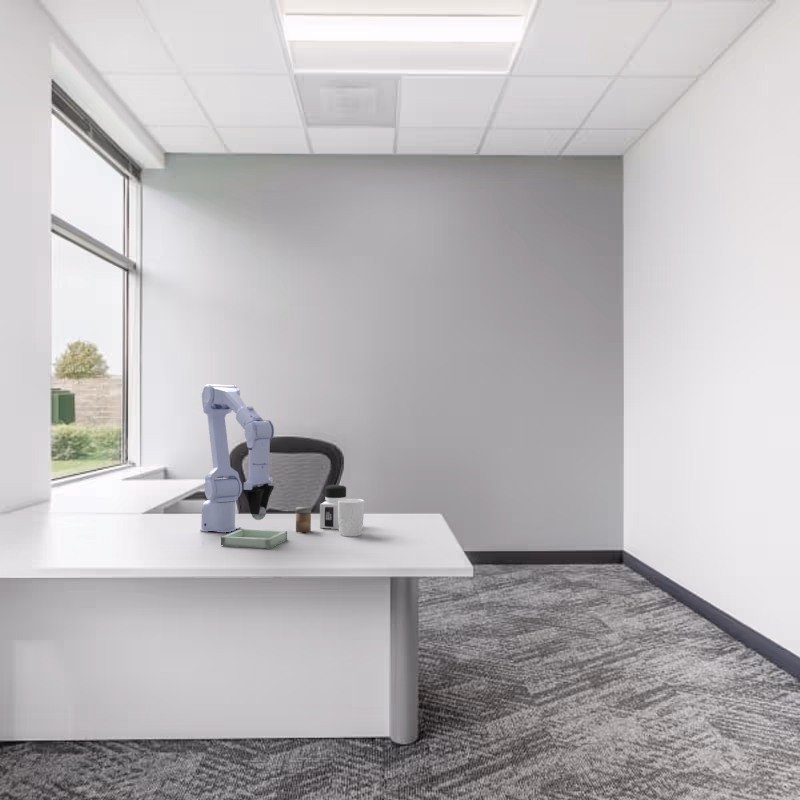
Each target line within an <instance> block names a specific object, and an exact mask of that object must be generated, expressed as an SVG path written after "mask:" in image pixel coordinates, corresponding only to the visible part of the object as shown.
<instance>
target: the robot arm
mask: <svg viewBox="0 0 800 800" xmlns="http://www.w3.org/2000/svg"><path fill="white" fill-rule="evenodd" d="M238 387H239V386H237V385H236V384H231V385H230V384H229V385H228V384H210V383H207V384H206V385H204V387H203V389H202V393H201V402H202V411H203V413H204V414H205V415H207V416H206V417H207V423H208V431H209V433H208V435H209V442H210V453H211V461H212V469H211V470H210V471H209V472H208V473H207V474H206V475H205V478H204V495H205V497H206V499H207V500H205V501H204V502H203V504H202V506H201V528H200V530H199V531H200V532H208V531H217V532H216V533H226V532H229V533H232V532H235V531H237V530H240V529H242V527H241V525H239V526H238V525H236V501H238V500H239V499H238V498H239V497H240V496H241V494H242V492H243V494H244V495H245V497H246V500H247V503H248V507H249V511H250V515H252V514H259V511H260V506H263V507H264V508H265V510H266V511H267V509H268V508H267V507H268V503H269V500H270V497H271V494H272V492H273V490H274V487H275V486H274V485H273V483H274V480H273V476H270V457H271V456H270V454H271V453H270V451H271V450H270V449H271V448H270V446H271V445H270V444H271V441H272V439H273V438H274V434H275V427H274V424H273V423H272V421H271V420H270V419H267V420H266V419H263V418H262V417H261V415H260V414H259V413H258V412H257V411H256V410H255V409H254V406H251V405H250V406H249V405H247V404H245V402H244V400H243V399H242V398H241V391H240V388H238ZM232 411H233V412H234V413H235V419H236V421H237V422H238V424H240V427H242V429H244V437H245V440H246V447H247V448H248V466H247V467H248V472H247V473H248V475H247V476H248V477H247V478H248V479H247V480H246V481H244V482H243V483H242V481H241V478H240V474H239V472H238V471H237V470H235V469H234V468H233V467H231V461H230V451H229V442H228V433H227V427H226V426H227V425H226V416H227V415H229V414H230V413H232ZM236 529H237V530H236ZM231 531H232V532H231Z"/></svg>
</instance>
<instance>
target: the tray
mask: <svg viewBox="0 0 800 800" xmlns="http://www.w3.org/2000/svg"><path fill="white" fill-rule="evenodd" d="M285 540H286V541H287V540H288V531H285V530H274V529H273V530H270V529H251V528H250V529H249V528H239V529H237V530H234V531H232V532H229V533H228V534H225V535H223V536H221V537H220V546H221V545H223V546H222V547H229V546H238V547H237V548H245V547H251V548H250V549H261V548H267V549H266V550H270V548H271V549H272V548H274V547H276V546H278V545H279V543H280V544H282V543H284V542H286V541H285ZM283 541H284V542H283ZM281 542H282V543H281ZM277 544H278V545H277ZM275 545H276V546H275Z"/></svg>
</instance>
